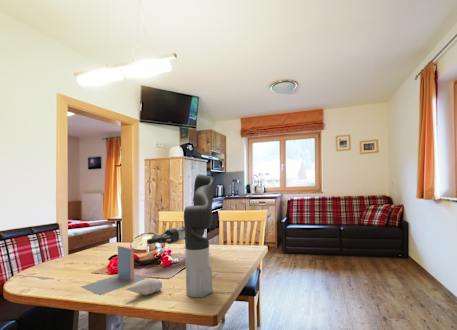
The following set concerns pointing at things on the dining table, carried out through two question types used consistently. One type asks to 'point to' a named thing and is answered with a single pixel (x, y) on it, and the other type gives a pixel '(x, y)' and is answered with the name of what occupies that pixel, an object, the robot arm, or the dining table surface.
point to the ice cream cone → (146, 286)
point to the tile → (126, 263)
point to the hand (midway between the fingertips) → (148, 242)
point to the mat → (111, 284)
